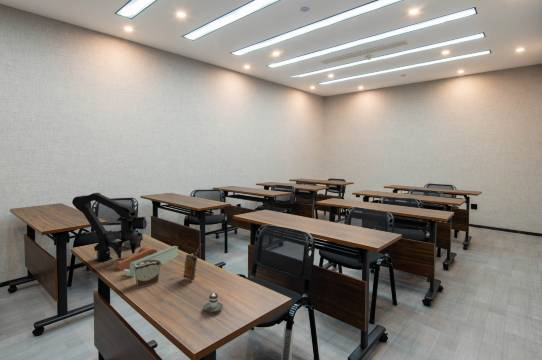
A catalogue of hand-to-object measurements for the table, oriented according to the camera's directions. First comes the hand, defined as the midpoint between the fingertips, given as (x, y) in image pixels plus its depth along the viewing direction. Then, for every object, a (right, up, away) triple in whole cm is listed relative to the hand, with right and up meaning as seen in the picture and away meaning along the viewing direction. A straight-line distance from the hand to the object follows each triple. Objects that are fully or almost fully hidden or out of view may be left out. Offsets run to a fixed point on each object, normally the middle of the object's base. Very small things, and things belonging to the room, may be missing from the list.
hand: (126, 255), depth 163 cm
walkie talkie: (+41, -5, -23) cm, 47 cm away
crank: (+8, -4, -5) cm, 10 cm away
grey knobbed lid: (+59, -8, -49) cm, 77 cm away
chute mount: (+18, -3, -7) cm, 20 cm away
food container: (+23, -5, -29) cm, 38 cm away
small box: (-7, -1, +22) cm, 23 cm away
